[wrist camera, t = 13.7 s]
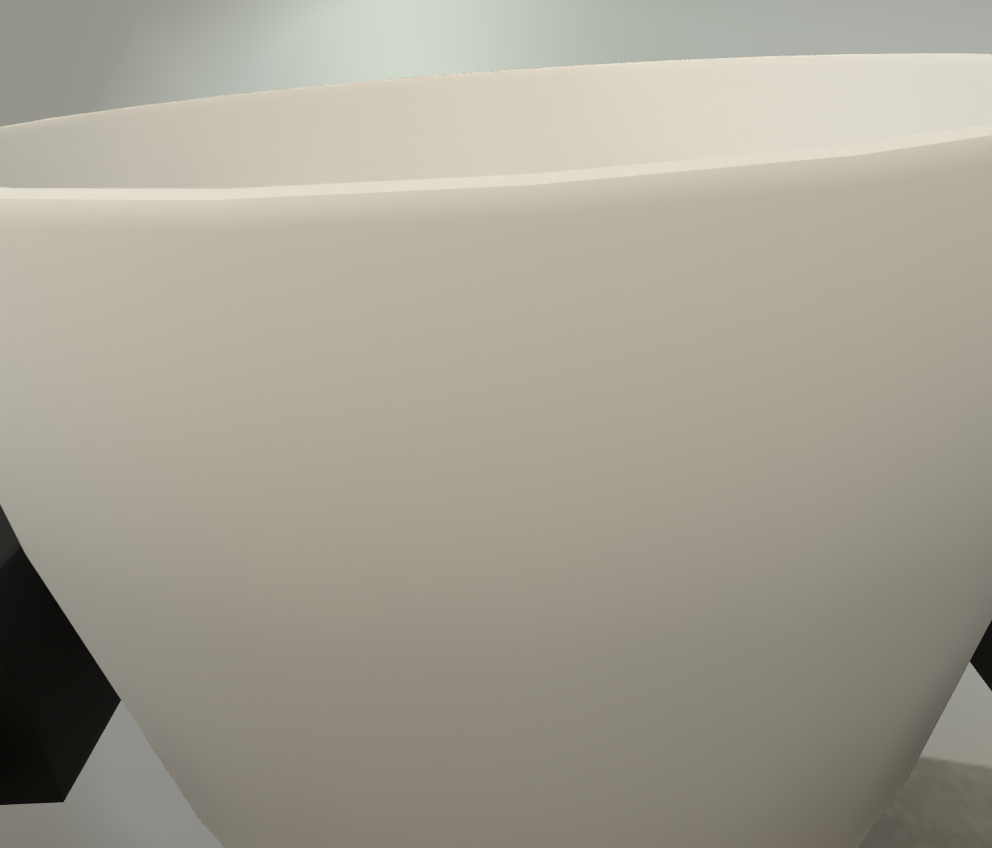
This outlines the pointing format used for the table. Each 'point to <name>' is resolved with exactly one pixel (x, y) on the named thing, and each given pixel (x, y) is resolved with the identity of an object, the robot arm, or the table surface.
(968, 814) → the table surface
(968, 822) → the table surface
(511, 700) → the cup
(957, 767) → the table surface
